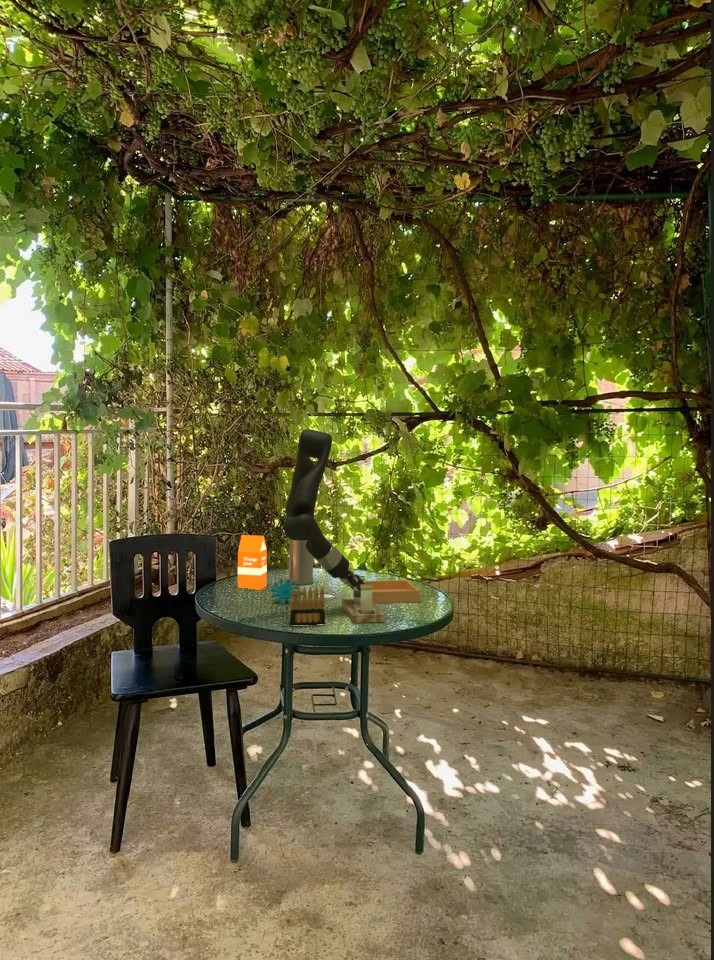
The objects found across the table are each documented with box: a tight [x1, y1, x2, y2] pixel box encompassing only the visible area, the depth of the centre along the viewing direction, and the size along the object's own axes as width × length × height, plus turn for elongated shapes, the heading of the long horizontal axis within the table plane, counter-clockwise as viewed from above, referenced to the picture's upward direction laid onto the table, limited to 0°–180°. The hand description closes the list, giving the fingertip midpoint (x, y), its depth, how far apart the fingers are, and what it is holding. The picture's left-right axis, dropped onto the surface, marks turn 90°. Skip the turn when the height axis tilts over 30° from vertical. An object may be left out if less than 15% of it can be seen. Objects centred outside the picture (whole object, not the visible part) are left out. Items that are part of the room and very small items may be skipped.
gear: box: [270, 578, 303, 605], centre depth 243 cm, size 11×6×10 cm
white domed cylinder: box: [352, 574, 366, 604], centre depth 233 cm, size 4×4×11 cm
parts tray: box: [364, 579, 421, 605], centre depth 252 cm, size 18×18×4 cm
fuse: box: [360, 584, 373, 614], centre depth 221 cm, size 4×4×11 cm
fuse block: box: [341, 598, 385, 624], centre depth 227 cm, size 10×21×2 cm, turn 10°
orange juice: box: [237, 534, 268, 590], centre depth 261 cm, size 8×9×20 cm
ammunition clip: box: [289, 585, 326, 626], centre depth 213 cm, size 11×2×12 cm, turn 100°
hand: (363, 593), depth 234 cm, fingers open, 5 cm apart
